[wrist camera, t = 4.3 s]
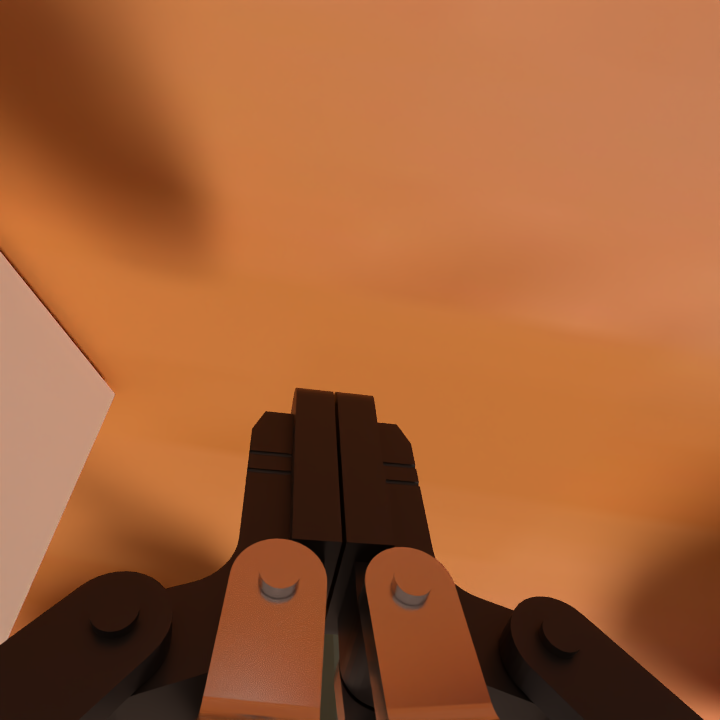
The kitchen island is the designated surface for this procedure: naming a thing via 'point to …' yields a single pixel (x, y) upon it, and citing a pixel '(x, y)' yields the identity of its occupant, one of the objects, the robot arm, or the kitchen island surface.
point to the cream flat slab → (38, 433)
